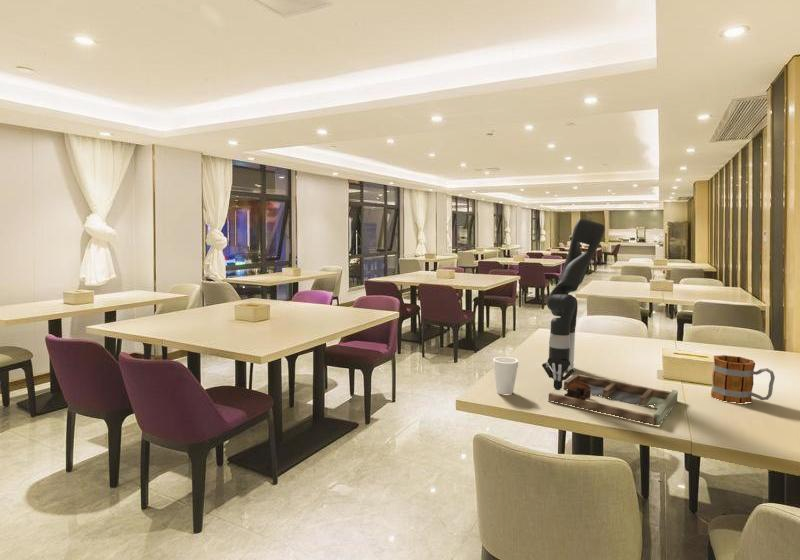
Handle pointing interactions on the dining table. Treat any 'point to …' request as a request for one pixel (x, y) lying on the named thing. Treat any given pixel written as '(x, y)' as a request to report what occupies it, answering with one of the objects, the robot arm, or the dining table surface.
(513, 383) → the foam cup
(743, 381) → the mug
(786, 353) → the dining table surface
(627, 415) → the wooden divided tray
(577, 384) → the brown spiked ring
